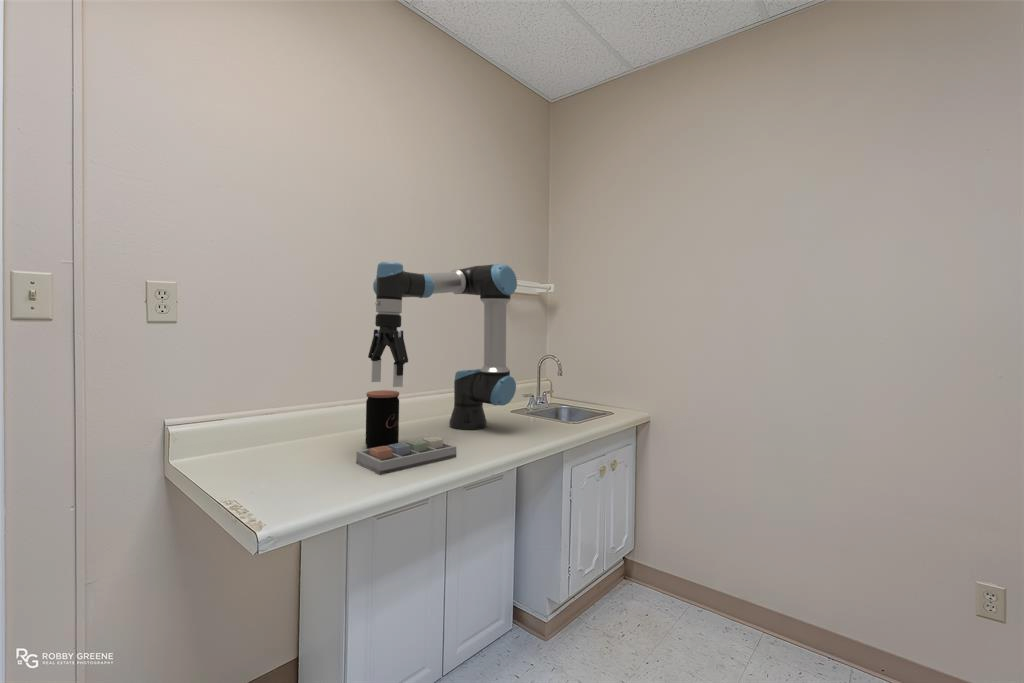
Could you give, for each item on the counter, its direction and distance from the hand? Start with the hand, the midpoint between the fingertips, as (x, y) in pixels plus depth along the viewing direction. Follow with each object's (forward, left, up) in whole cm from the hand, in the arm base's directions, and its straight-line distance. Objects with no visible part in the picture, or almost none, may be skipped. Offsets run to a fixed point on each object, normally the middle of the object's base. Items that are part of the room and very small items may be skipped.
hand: (386, 384), depth 138 cm
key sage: (-8, +5, -20) cm, 22 cm away
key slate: (-2, +5, -20) cm, 21 cm away
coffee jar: (-7, -14, -23) cm, 27 cm away
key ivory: (-14, +5, -20) cm, 25 cm away
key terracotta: (+4, +5, -20) cm, 21 cm away
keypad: (-5, +5, -23) cm, 24 cm away
